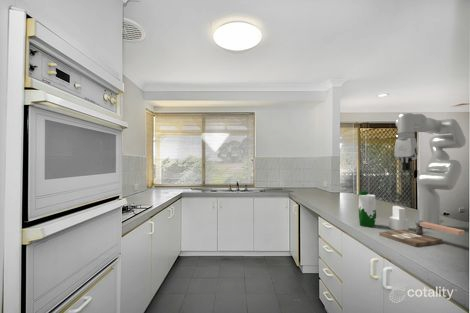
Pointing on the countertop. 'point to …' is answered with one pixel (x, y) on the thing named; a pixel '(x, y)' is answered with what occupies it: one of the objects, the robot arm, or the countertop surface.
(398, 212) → the base with upright slab
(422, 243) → the label board
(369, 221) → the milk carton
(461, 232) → the swing arm
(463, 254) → the countertop surface
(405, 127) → the robot arm
